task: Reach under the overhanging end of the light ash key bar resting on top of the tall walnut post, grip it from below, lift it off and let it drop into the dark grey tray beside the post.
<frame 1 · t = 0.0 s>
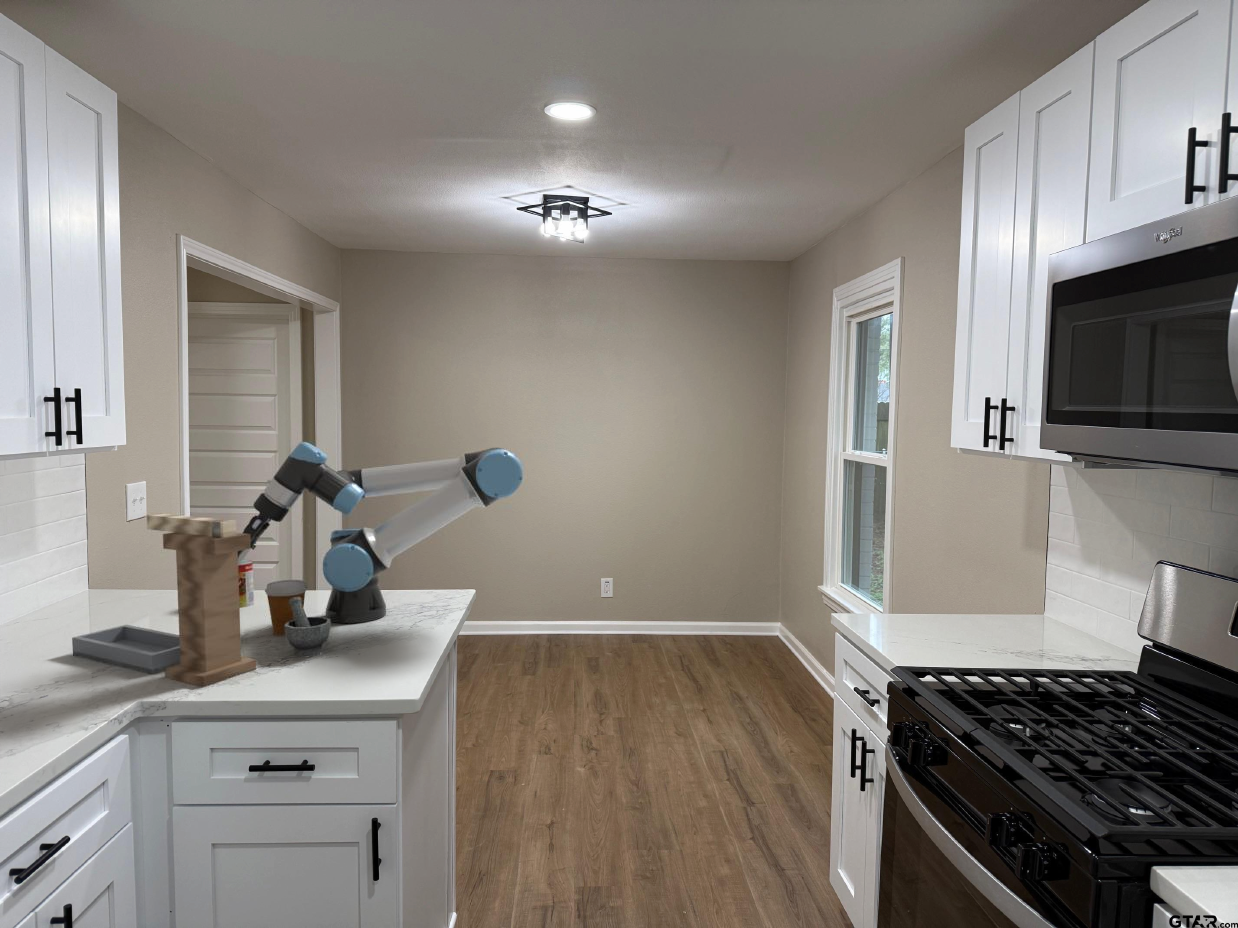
hand: (222, 573, 191), 15 cm above the countertop, tool tilted 35°, fingers open, 13 cm apart
post stand: (211, 673, 167), on the countertop
canned food: (238, 605, 224), on the countertop
disposable coffee cup: (287, 632, 197), on the countertop
mortar and pestle: (306, 652, 181), on the countertop
key bar: (190, 532, 167), point 29 cm above the countertop, touching post stand
tray: (139, 656, 177), on the countertop
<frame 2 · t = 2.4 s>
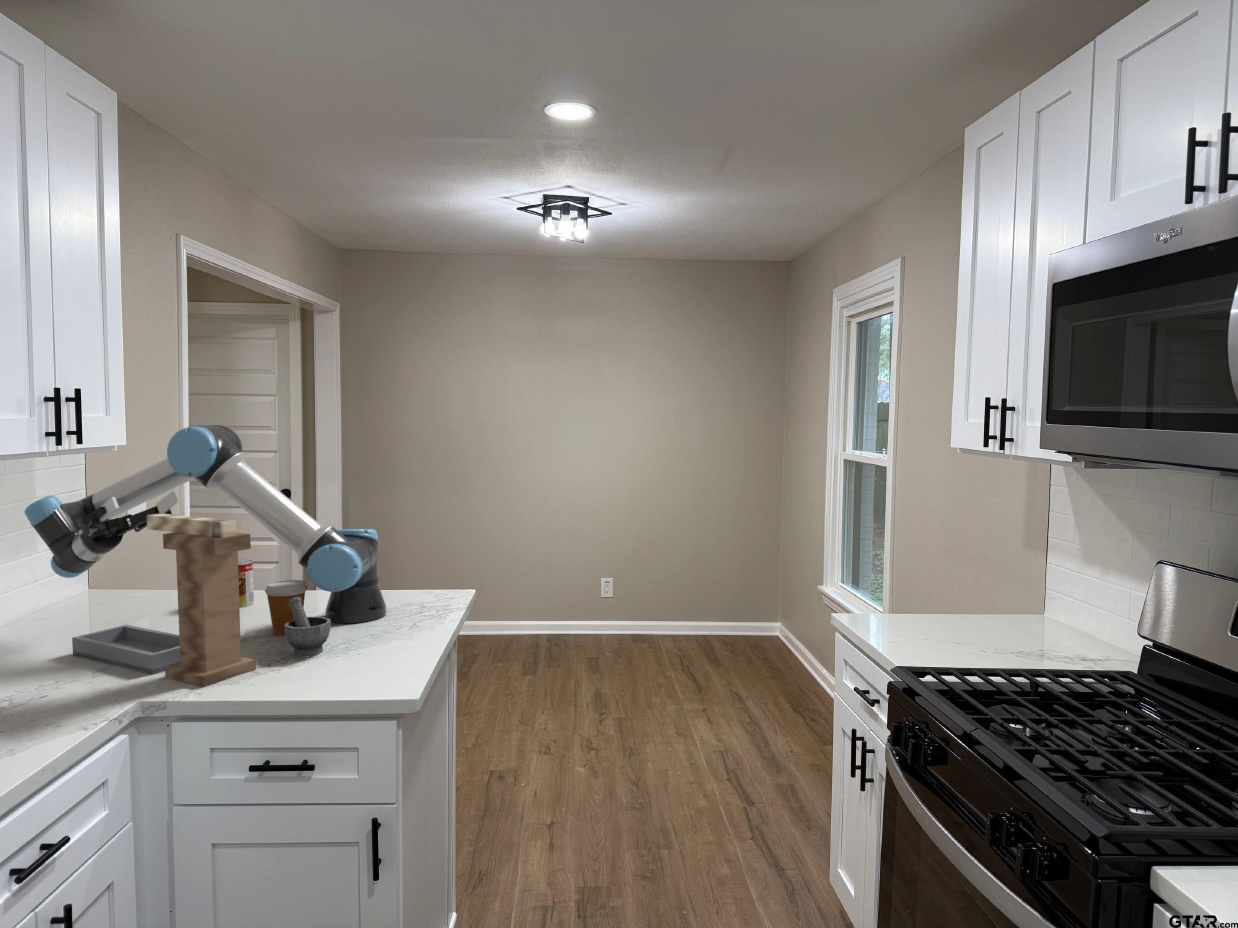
hand: (146, 499, 181), 34 cm above the countertop, tool pointing upward, fingers open, 13 cm apart
nothing on the countertop moved.
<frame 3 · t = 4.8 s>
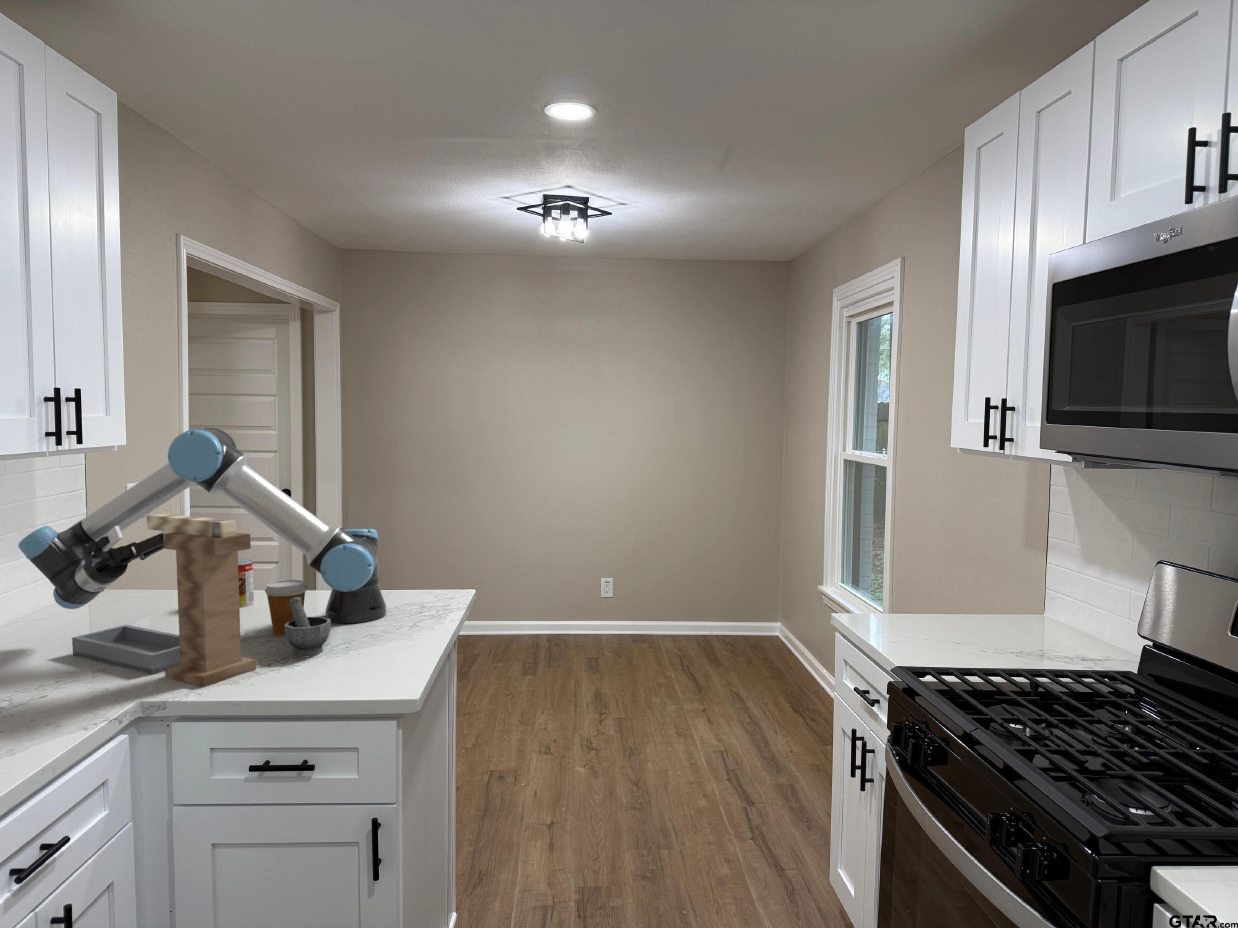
hand: (151, 527, 172), 29 cm above the countertop, tool pointing upward, fingers open, 13 cm apart
nothing on the countertop moved.
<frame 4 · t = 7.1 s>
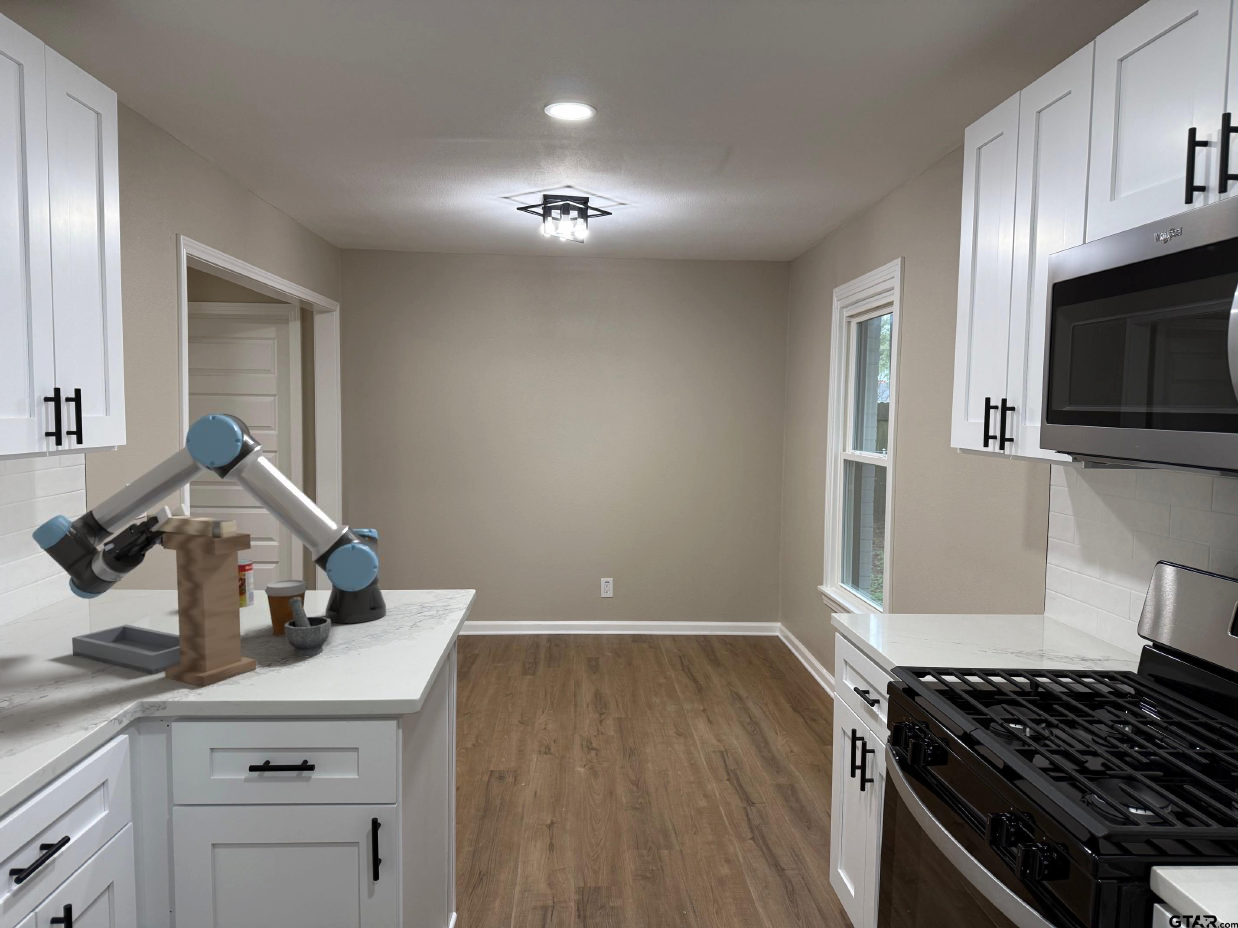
hand: (176, 510, 168), 33 cm above the countertop, tool pointing upward, fingers closed on key bar, 3 cm apart
key bar: (190, 532, 167), point 29 cm above the countertop, touching gripper
everything else where it was.
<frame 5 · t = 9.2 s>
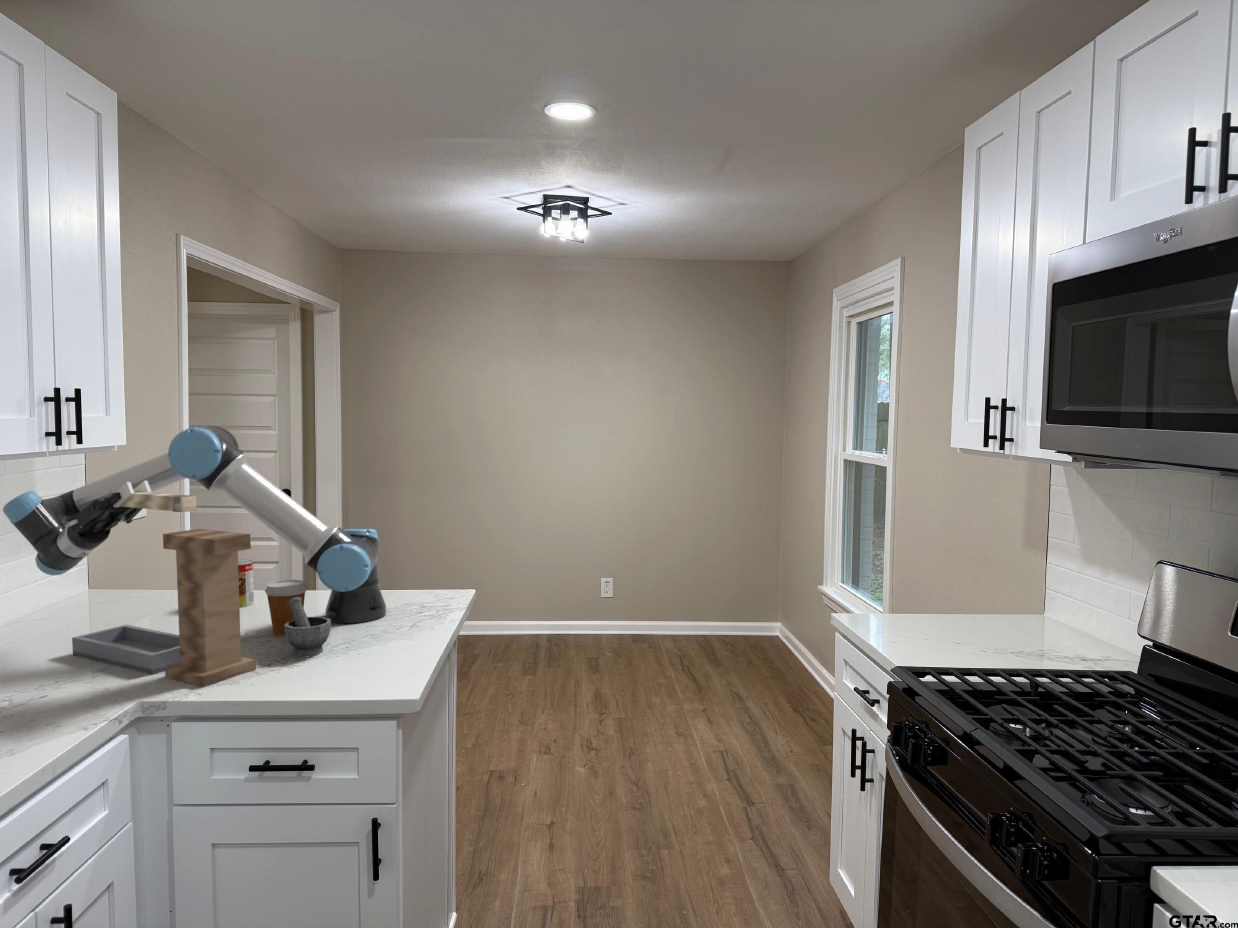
hand: (139, 487, 172), 38 cm above the countertop, tool pointing upward, fingers closed on key bar, 3 cm apart
key bar: (152, 507, 171), point 34 cm above the countertop, touching gripper
everything else where it was.
when the fingers open (28 cm above the countertop, at t = 11.8 s): key bar drops 22 cm, resting on tray.
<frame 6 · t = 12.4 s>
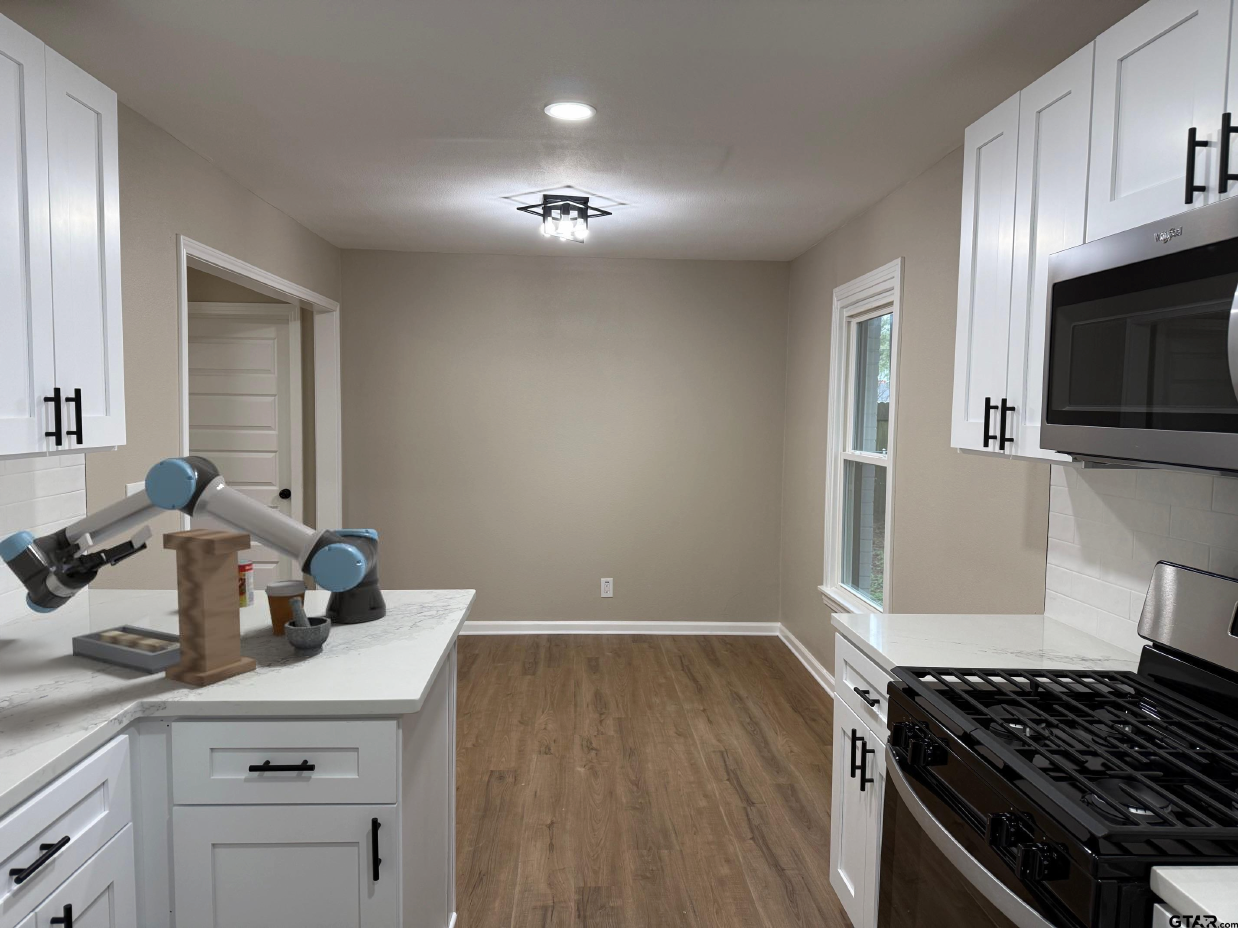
hand: (120, 534, 178), 27 cm above the countertop, tool pointing upward, fingers open, 12 cm apart
key bar: (139, 652, 177), point 1 cm above the countertop, touching tray
everything else where it was.
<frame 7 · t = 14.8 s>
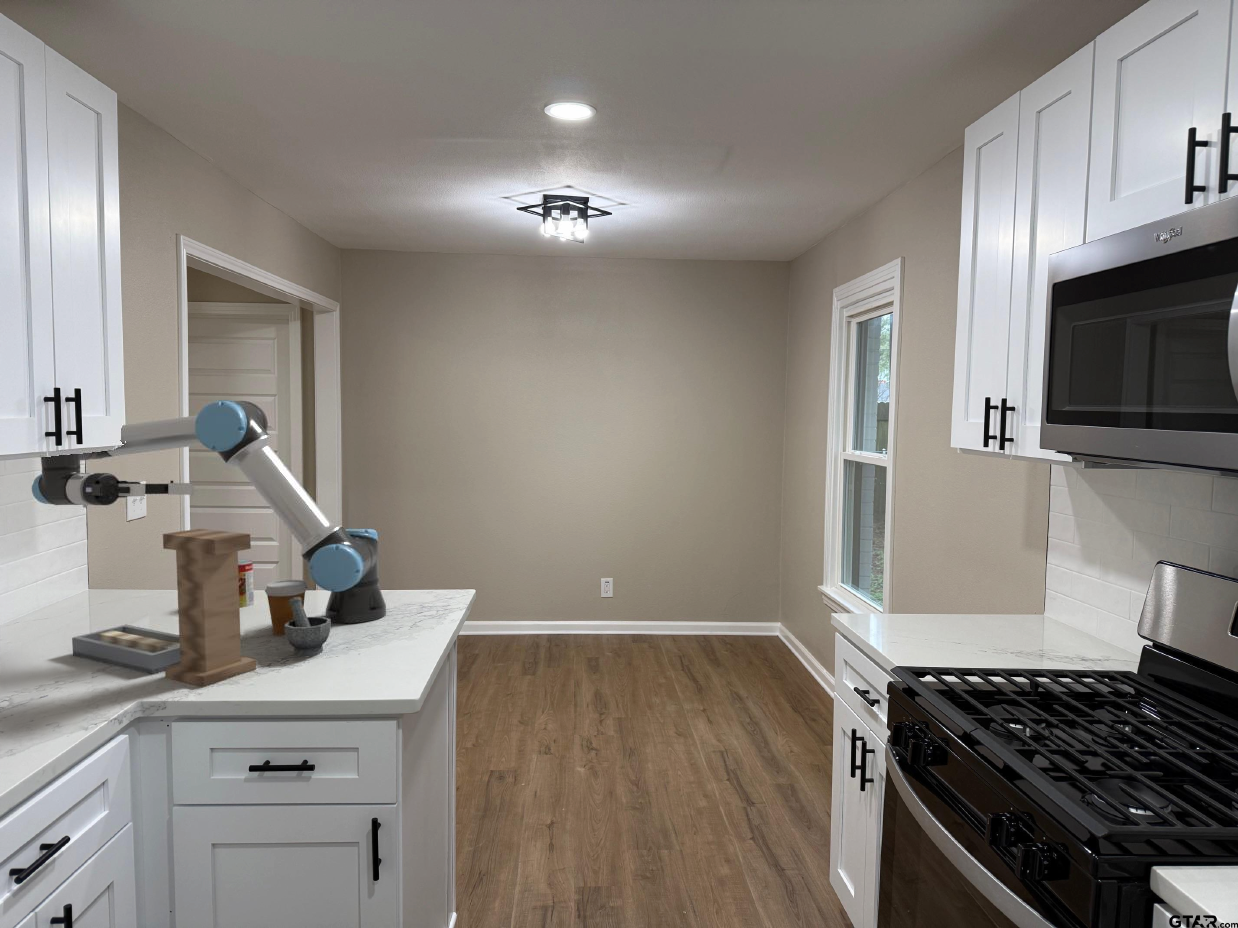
hand: (169, 489, 183), 36 cm above the countertop, tool horizontal, fingers open, 13 cm apart
nothing on the countertop moved.
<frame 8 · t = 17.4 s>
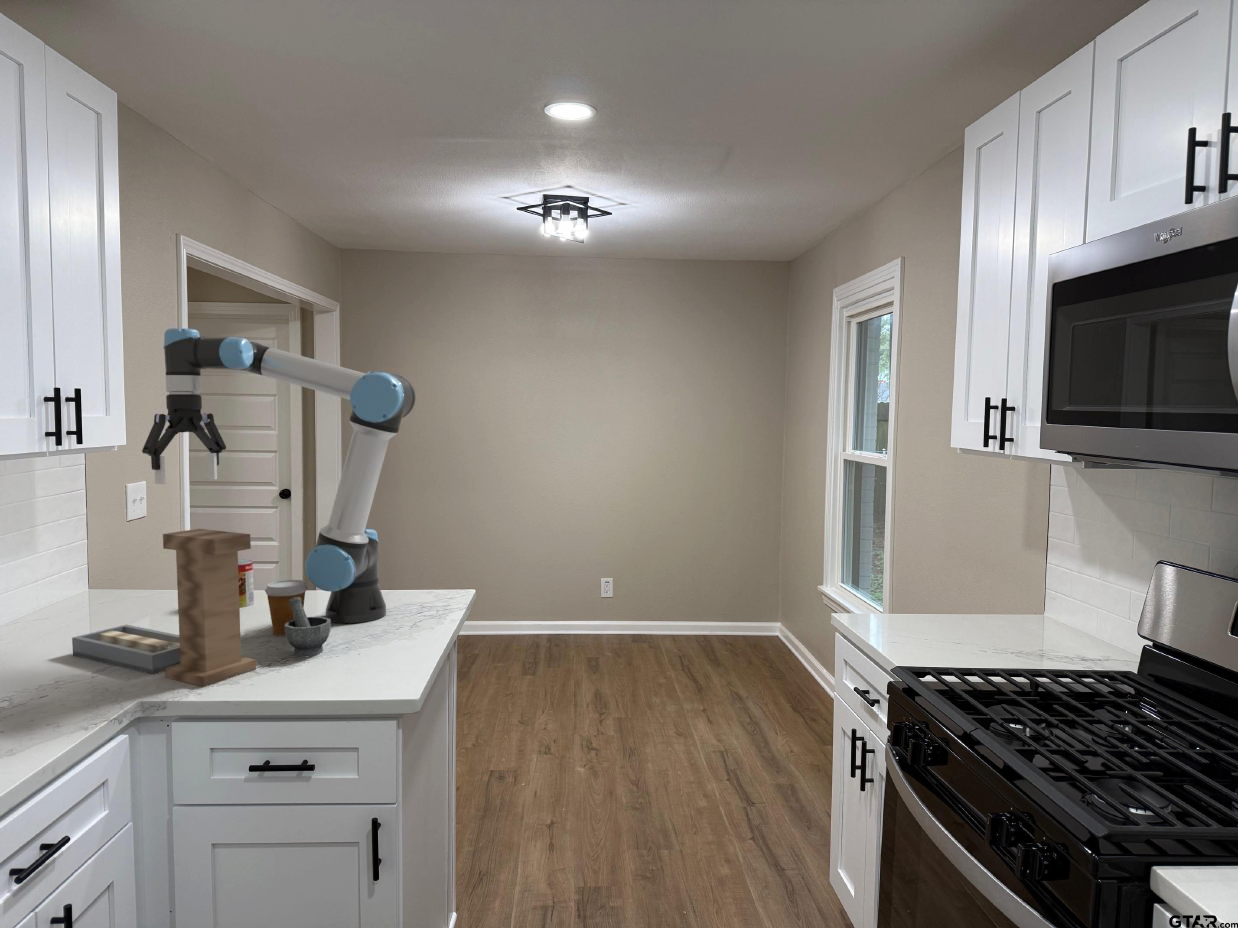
hand: (187, 481, 196), 37 cm above the countertop, tool pointing down, fingers open, 13 cm apart
nothing on the countertop moved.
at the end: key bar inside the target area on the tray (0.2 cm from its centre), point 1.0 cm above the tray's base; the gripper is holding nothing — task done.
